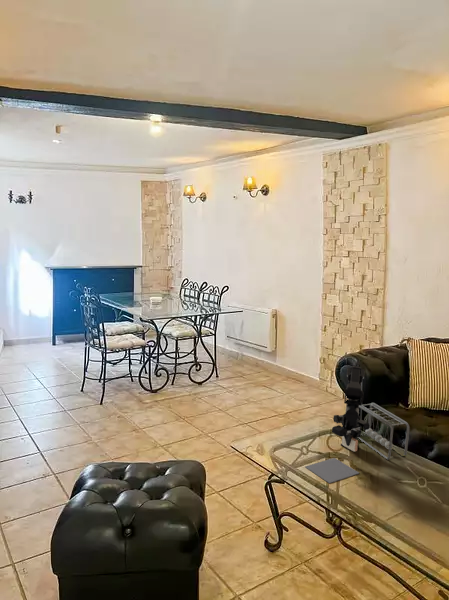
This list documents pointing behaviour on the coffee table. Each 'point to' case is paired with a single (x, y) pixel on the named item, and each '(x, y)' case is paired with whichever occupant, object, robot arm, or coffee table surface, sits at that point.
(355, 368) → the robot arm
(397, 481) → the coffee table surface
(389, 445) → the newton's cradle
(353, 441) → the tile
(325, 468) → the mat
